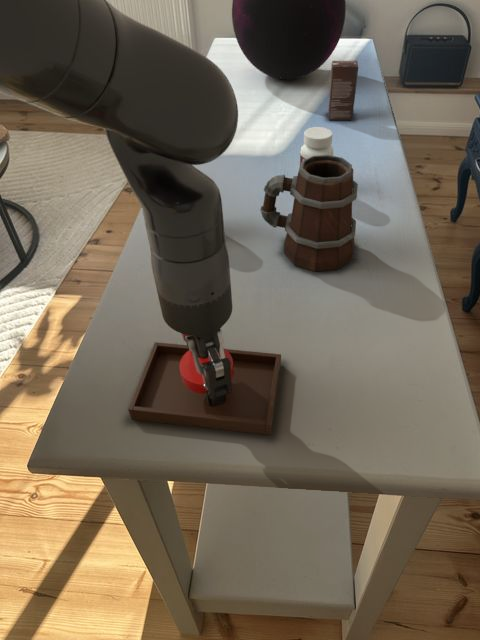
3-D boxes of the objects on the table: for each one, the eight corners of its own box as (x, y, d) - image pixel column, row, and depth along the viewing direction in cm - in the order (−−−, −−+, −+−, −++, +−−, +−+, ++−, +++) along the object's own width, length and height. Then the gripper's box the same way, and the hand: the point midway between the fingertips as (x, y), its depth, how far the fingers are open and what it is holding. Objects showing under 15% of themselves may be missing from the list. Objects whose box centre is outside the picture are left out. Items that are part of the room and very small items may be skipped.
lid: (238, 356, 61) (237, 346, 60) (229, 396, 57) (228, 387, 56) (188, 351, 62) (186, 342, 61) (175, 391, 58) (173, 381, 56)
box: (351, 113, 121) (357, 59, 112) (352, 121, 118) (359, 66, 109) (327, 113, 121) (331, 59, 112) (327, 120, 118) (332, 66, 109)
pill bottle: (306, 179, 99) (309, 123, 90) (334, 186, 97) (340, 129, 88) (293, 193, 95) (295, 135, 87) (322, 200, 93) (327, 142, 85)
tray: (131, 419, 59) (127, 409, 58) (157, 352, 67) (154, 341, 65) (270, 435, 57) (270, 425, 56) (280, 364, 65) (281, 354, 63)
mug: (354, 233, 85) (366, 150, 74) (350, 276, 77) (364, 190, 66) (266, 225, 87) (266, 143, 76) (254, 266, 79) (252, 181, 68)
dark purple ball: (335, 59, 149) (347, -69, 126) (342, 96, 128) (358, -48, 106) (238, 58, 150) (233, -68, 127) (230, 95, 129) (222, -48, 107)
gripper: (253, 313, 45) (256, 416, 57) (206, 232, 54) (218, 336, 66) (175, 335, 43) (196, 437, 55) (140, 247, 52) (164, 351, 64)
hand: (208, 381), depth 61 cm, fingers closed on lid, 6 cm apart
